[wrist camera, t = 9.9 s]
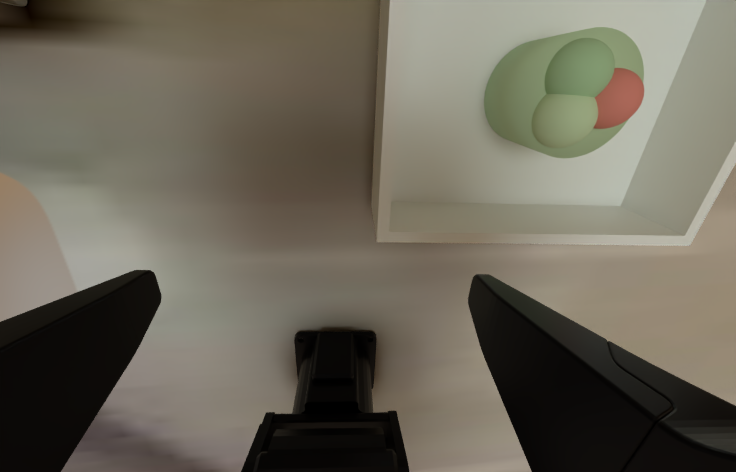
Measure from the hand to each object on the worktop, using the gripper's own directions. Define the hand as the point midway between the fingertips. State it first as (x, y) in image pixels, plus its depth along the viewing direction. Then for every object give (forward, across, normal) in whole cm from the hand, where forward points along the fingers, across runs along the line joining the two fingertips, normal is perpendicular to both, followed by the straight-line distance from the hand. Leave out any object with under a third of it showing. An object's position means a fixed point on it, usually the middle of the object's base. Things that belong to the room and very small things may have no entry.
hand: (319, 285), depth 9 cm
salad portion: (+11, -11, -5) cm, 16 cm away
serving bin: (+12, -11, -5) cm, 17 cm away
